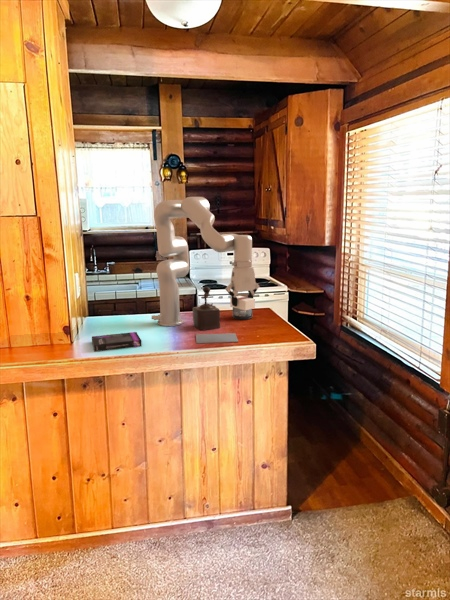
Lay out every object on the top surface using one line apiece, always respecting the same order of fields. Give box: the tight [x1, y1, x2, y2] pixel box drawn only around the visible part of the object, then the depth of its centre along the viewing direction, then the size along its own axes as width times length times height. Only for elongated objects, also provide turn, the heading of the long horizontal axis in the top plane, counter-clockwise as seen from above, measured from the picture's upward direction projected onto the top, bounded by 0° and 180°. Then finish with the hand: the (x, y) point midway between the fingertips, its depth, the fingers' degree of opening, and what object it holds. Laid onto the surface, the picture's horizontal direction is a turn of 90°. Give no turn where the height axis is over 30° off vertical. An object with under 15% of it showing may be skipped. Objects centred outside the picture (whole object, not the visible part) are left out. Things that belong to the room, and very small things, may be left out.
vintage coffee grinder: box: [192, 286, 221, 331], centre depth 215 cm, size 16×11×18 cm
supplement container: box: [231, 292, 254, 321], centre depth 229 cm, size 10×10×12 cm
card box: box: [229, 296, 256, 310], centre depth 193 cm, size 6×9×4 cm, turn 45°
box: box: [91, 331, 143, 353], centre depth 189 cm, size 14×4×20 cm
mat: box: [195, 332, 239, 345], centre depth 196 cm, size 18×12×1 cm, turn 95°
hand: (242, 304), depth 193 cm, fingers closed on card box, 7 cm apart
